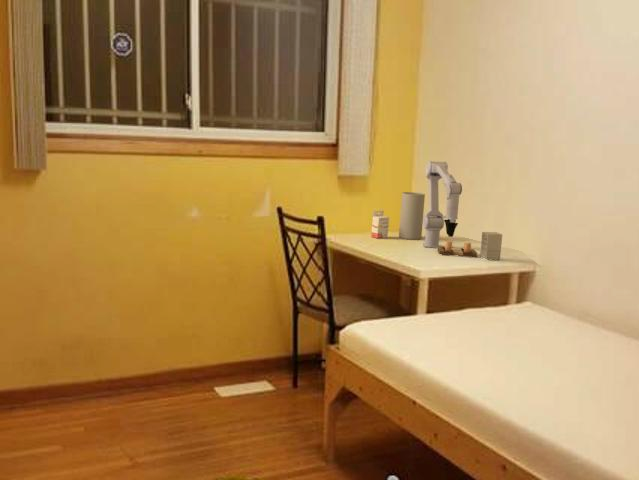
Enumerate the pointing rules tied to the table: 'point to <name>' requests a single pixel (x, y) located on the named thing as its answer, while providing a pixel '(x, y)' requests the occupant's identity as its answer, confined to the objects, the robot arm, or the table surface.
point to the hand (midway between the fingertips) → (449, 235)
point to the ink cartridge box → (379, 225)
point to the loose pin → (448, 246)
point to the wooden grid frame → (456, 252)
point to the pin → (467, 247)
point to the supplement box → (491, 245)
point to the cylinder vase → (411, 215)
